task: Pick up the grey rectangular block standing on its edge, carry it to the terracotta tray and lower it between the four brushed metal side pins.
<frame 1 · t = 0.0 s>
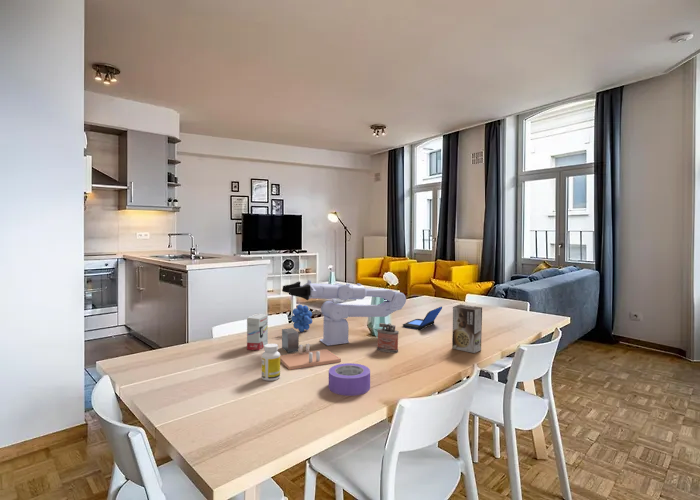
hand: (285, 290, 146), 22 cm above the table, tool horizontal, fingers open, 7 cm apart
lighter: (387, 351, 146), on the table
grapes: (303, 332, 171), on the table
coffee box: (466, 349, 149), on the table
ink box: (257, 347, 149), on the table
pin tray: (309, 360, 134), on the table
handheld game console: (422, 326, 185), on the table
supplement bottle: (270, 378, 118), on the table
tape roll: (349, 388, 112), on the table
grey rectangular block: (290, 349, 146), on the table
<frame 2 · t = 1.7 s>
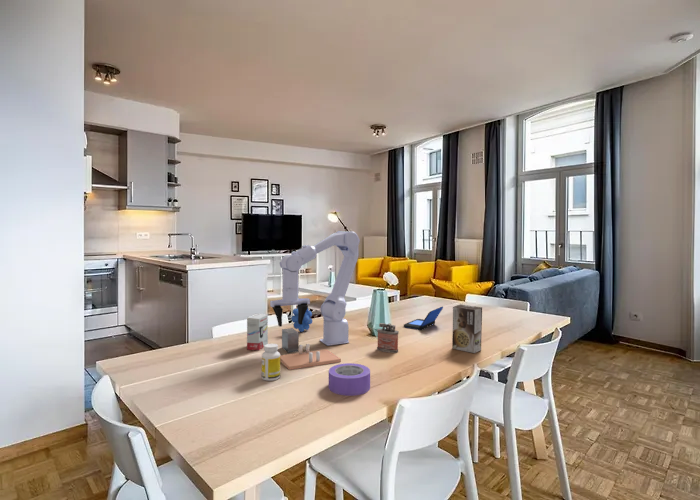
hand: (290, 324, 146), 9 cm above the table, tool pointing down, fingers open, 7 cm apart
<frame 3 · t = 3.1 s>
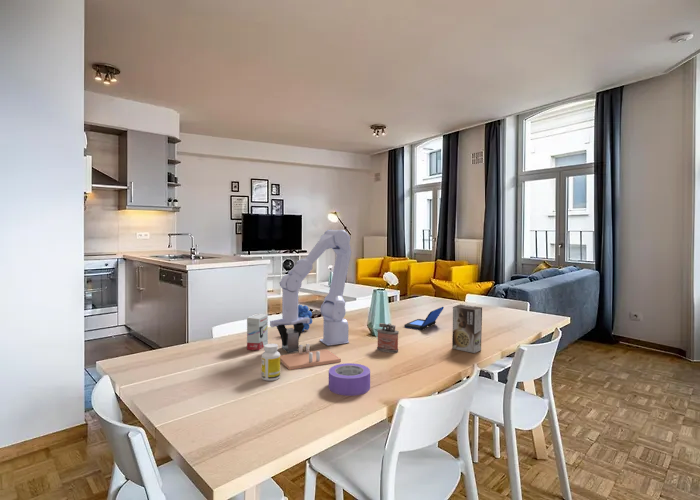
hand: (290, 344, 146), 2 cm above the table, tool pointing down, fingers closed on grey rectangular block, 4 cm apart
grey rectangular block: (290, 349, 146), on the table, touching gripper
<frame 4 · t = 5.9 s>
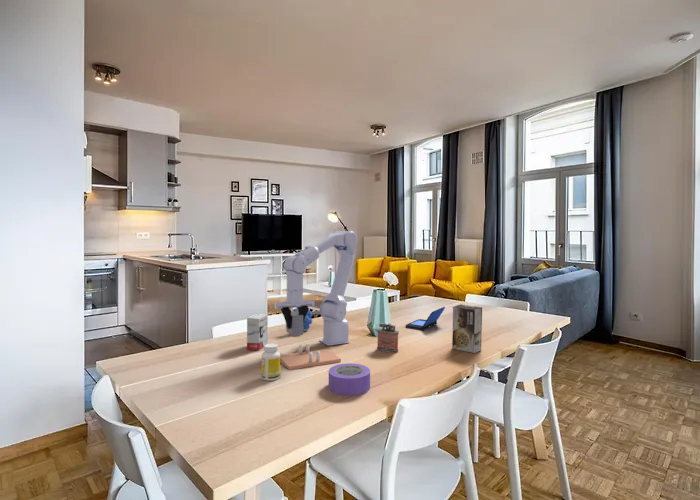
hand: (294, 327, 143), 9 cm above the table, tool pointing down, fingers closed on grey rectangular block, 4 cm apart
grey rectangular block: (294, 332, 143), point 7 cm above the table, touching gripper
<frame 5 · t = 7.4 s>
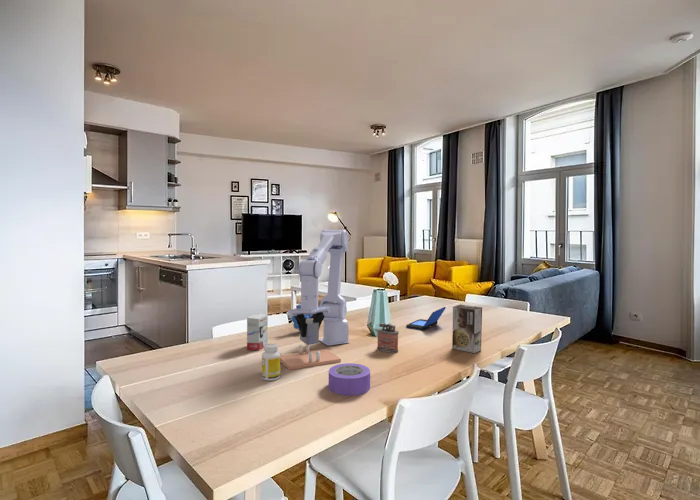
hand: (309, 335, 134), 8 cm above the table, tool pointing down, fingers closed on grey rectangular block, 4 cm apart
grey rectangular block: (309, 341, 134), point 6 cm above the table, touching gripper
when the fingers open (4 cm above the table, at t = 8.6 s): grey rectangular block drops 1 cm, resting on pin tray.
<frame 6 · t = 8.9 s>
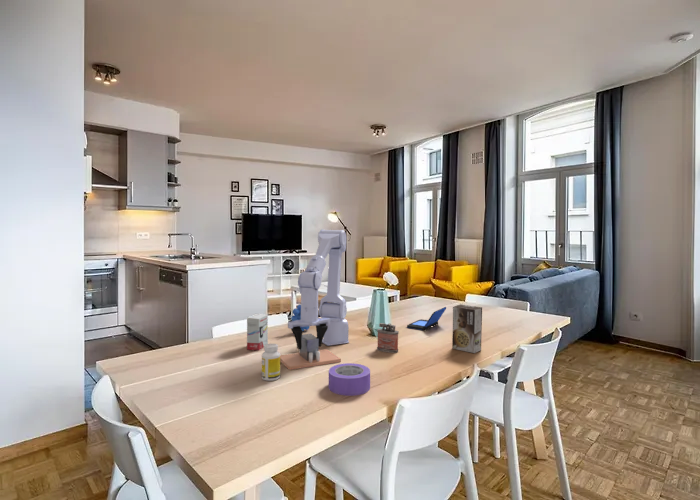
hand: (309, 347, 134), 4 cm above the table, tool pointing down, fingers open, 6 cm apart
grey rectangular block: (308, 357, 135), point 1 cm above the table, touching pin tray
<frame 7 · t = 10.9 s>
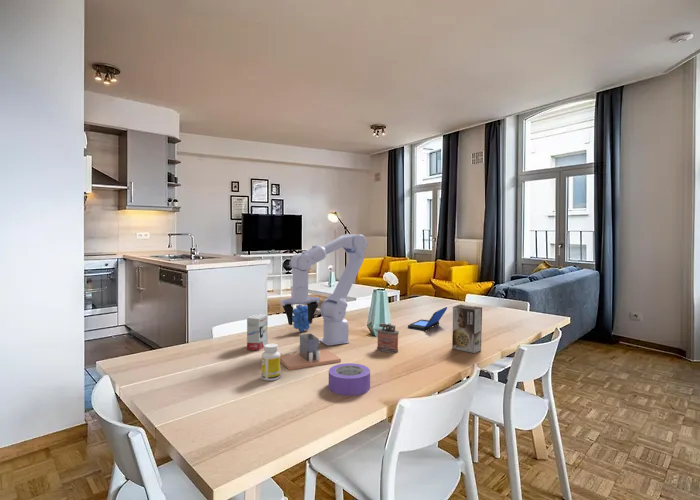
hand: (300, 323, 147), 9 cm above the table, tool pointing down, fingers open, 7 cm apart
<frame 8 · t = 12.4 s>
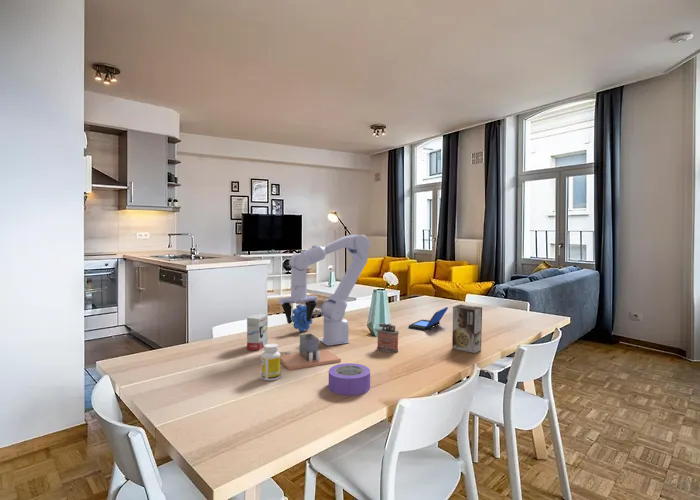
hand: (298, 321, 149), 9 cm above the table, tool pointing down, fingers open, 7 cm apart
at the end: grey rectangular block 0.1 cm off-centre on the pin tray, point 1.0 cm above the pin tray's base; grey rectangular block tilted 0°; the gripper is holding nothing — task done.
